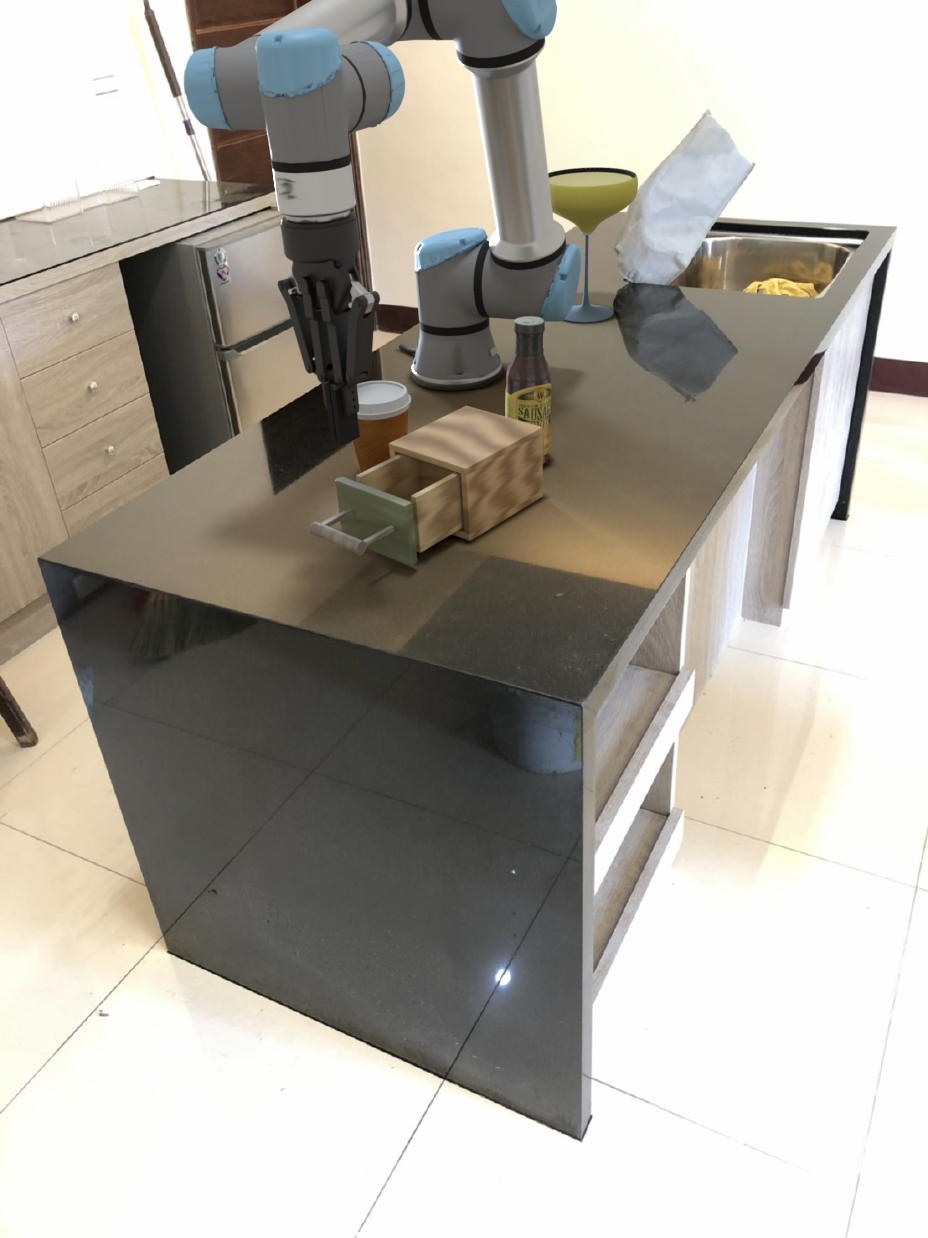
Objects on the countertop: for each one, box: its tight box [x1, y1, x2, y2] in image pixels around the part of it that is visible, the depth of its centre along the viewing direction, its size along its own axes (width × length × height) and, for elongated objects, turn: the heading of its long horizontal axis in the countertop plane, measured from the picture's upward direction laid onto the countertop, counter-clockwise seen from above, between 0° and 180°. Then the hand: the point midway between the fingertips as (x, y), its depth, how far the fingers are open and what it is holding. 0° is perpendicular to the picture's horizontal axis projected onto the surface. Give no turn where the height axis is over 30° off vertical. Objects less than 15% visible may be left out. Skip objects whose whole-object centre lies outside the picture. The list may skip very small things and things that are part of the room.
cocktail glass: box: [548, 166, 639, 324], centre depth 189 cm, size 18×18×25 cm
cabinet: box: [389, 405, 544, 542], centre depth 129 cm, size 15×13×10 cm
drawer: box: [308, 453, 464, 567], centre depth 121 cm, size 20×12×8 cm, turn 139°
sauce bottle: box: [504, 316, 552, 465], centre depth 136 cm, size 6×6×20 cm
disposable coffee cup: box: [351, 380, 412, 474], centre depth 137 cm, size 10×10×12 cm
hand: (345, 439), depth 111 cm, fingers closed
